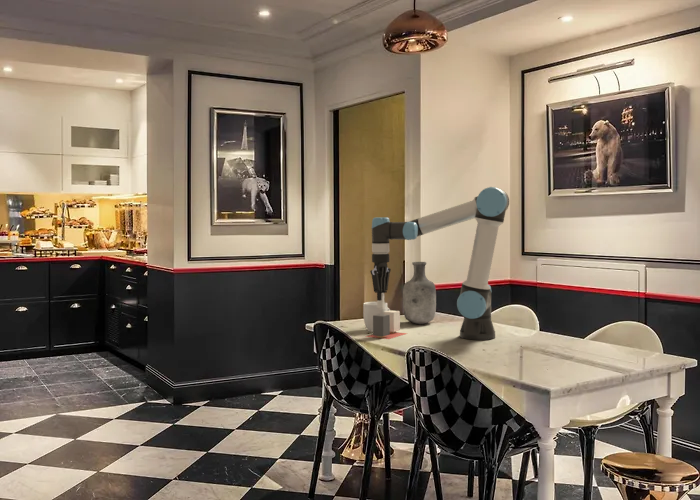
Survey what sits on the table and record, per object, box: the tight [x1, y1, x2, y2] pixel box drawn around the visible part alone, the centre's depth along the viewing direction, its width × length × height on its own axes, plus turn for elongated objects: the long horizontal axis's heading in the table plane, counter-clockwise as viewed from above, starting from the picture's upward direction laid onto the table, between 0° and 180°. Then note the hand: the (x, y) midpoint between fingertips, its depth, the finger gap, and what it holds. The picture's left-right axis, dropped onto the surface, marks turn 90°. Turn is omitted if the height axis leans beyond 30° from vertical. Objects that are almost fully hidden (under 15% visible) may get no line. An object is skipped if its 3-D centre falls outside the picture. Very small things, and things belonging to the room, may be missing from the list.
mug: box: [362, 301, 391, 333], centre depth 313 cm, size 15×11×13 cm
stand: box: [365, 309, 408, 340], centre depth 300 cm, size 12×17×10 cm
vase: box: [402, 261, 437, 325], centre depth 332 cm, size 16×16×30 cm
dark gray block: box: [372, 314, 390, 336], centre depth 295 cm, size 5×5×9 cm
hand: (380, 307), depth 294 cm, fingers closed
